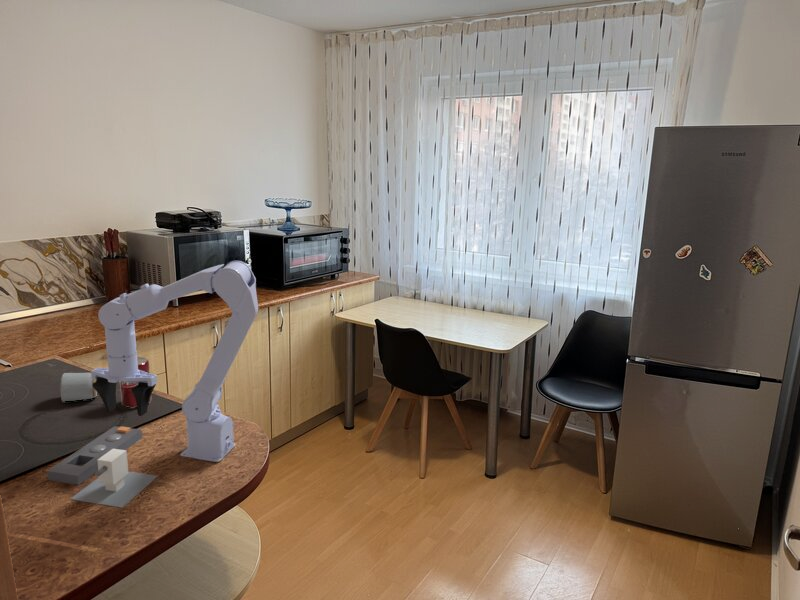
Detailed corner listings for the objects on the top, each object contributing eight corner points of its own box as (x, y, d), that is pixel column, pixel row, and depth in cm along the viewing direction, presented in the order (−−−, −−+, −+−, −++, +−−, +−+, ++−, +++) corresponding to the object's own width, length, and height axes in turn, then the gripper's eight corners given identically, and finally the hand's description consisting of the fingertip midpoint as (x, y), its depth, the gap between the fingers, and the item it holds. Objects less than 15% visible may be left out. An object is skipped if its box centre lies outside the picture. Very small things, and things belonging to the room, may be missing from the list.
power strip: (115, 435, 130) (114, 423, 129) (142, 439, 129) (141, 427, 128) (48, 482, 111) (46, 468, 110) (79, 486, 110) (77, 473, 109)
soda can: (140, 410, 143) (136, 367, 140) (115, 407, 145) (111, 364, 142) (157, 399, 150) (154, 357, 147) (133, 396, 152) (130, 355, 149)
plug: (129, 482, 111) (126, 450, 109) (107, 500, 105) (104, 467, 103) (115, 480, 111) (112, 448, 110) (93, 498, 105) (89, 465, 104)
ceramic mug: (97, 403, 147) (94, 375, 145) (61, 407, 143) (58, 379, 142) (101, 388, 156) (98, 362, 154) (67, 392, 153) (64, 365, 151)
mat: (158, 478, 114) (157, 475, 114) (122, 510, 103) (122, 507, 103) (110, 471, 116) (110, 468, 116) (70, 501, 105) (70, 498, 105)
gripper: (78, 356, 116) (84, 415, 119) (140, 363, 113) (145, 423, 117) (101, 345, 123) (107, 402, 126) (161, 352, 120) (165, 409, 123)
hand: (126, 411), depth 122 cm, fingers open, 7 cm apart
